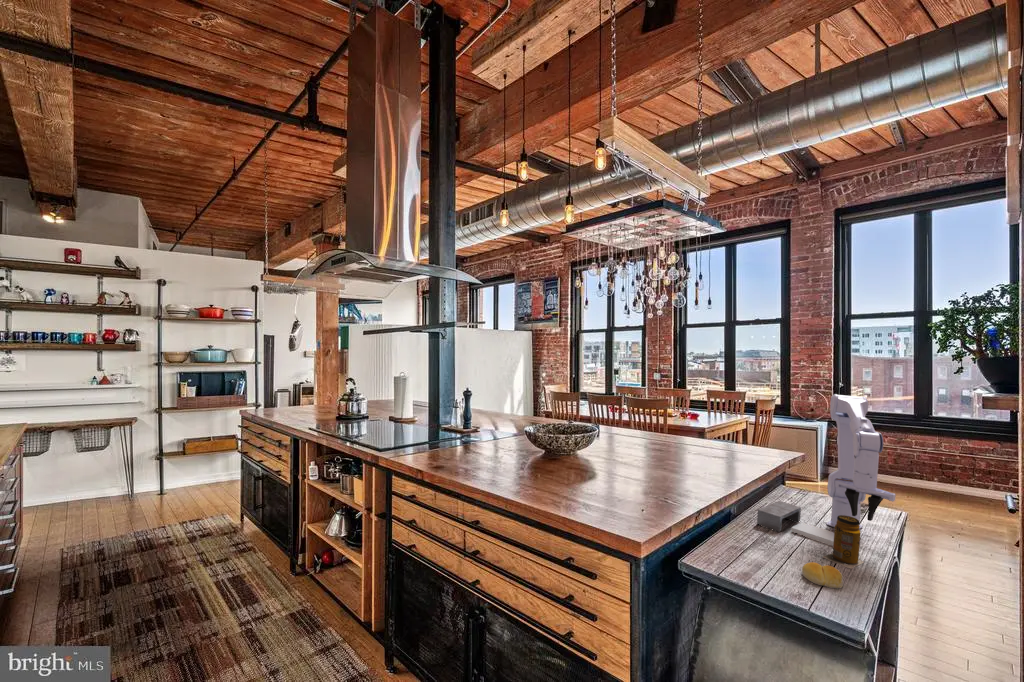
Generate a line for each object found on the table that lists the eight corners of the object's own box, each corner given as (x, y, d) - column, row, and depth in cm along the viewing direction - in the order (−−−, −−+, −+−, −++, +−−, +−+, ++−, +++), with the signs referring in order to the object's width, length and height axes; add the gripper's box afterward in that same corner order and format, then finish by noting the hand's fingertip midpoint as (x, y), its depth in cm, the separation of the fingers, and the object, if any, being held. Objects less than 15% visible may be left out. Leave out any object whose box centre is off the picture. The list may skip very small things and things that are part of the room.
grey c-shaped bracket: (778, 514, 169) (779, 500, 169) (799, 521, 163) (800, 507, 163) (756, 524, 159) (757, 509, 159) (779, 532, 154) (780, 516, 153)
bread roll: (802, 569, 130) (803, 554, 130) (842, 579, 125) (843, 564, 125) (801, 581, 123) (802, 566, 123) (843, 593, 118) (844, 577, 118)
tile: (801, 528, 159) (801, 522, 159) (846, 543, 149) (847, 536, 149) (791, 533, 154) (791, 527, 154) (837, 549, 144) (838, 542, 144)
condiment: (864, 562, 136) (867, 520, 135) (851, 569, 131) (854, 526, 130) (835, 551, 142) (838, 511, 141) (822, 558, 137) (825, 516, 137)
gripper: (832, 467, 146) (829, 512, 146) (891, 481, 134) (888, 529, 135) (841, 464, 150) (837, 507, 151) (899, 477, 139) (895, 524, 139)
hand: (862, 517), depth 143 cm, fingers open, 3 cm apart
